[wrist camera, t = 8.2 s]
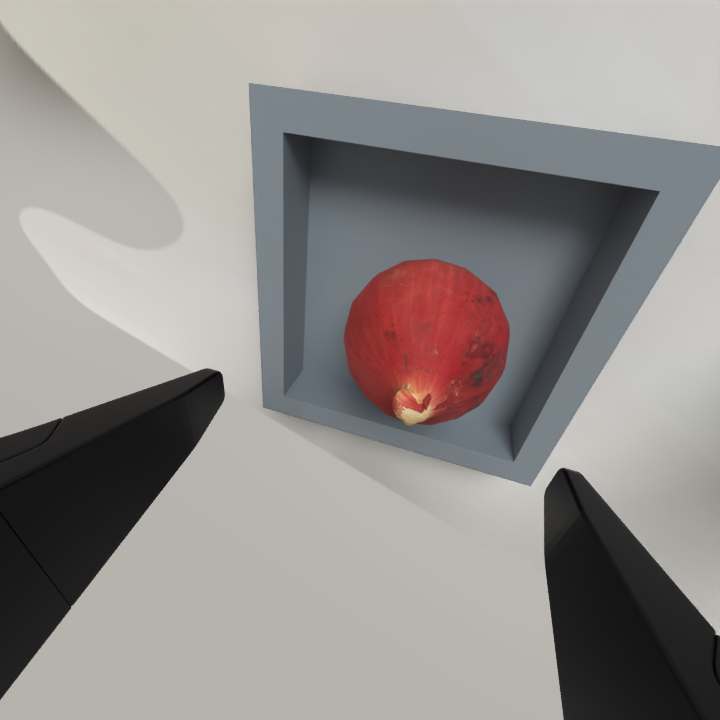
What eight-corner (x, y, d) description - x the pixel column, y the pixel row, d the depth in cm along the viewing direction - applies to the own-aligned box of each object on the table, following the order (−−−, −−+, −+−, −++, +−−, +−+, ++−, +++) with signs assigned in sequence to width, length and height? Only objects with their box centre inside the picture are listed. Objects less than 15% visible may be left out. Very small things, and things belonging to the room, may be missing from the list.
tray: (677, 145, 12) (738, 149, 9) (523, 435, 20) (530, 486, 17) (294, 92, 14) (248, 83, 12) (290, 372, 22) (263, 407, 19)
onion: (501, 231, 14) (554, 320, 8) (489, 355, 17) (519, 498, 11) (357, 240, 15) (294, 324, 9) (370, 355, 18) (329, 482, 12)
